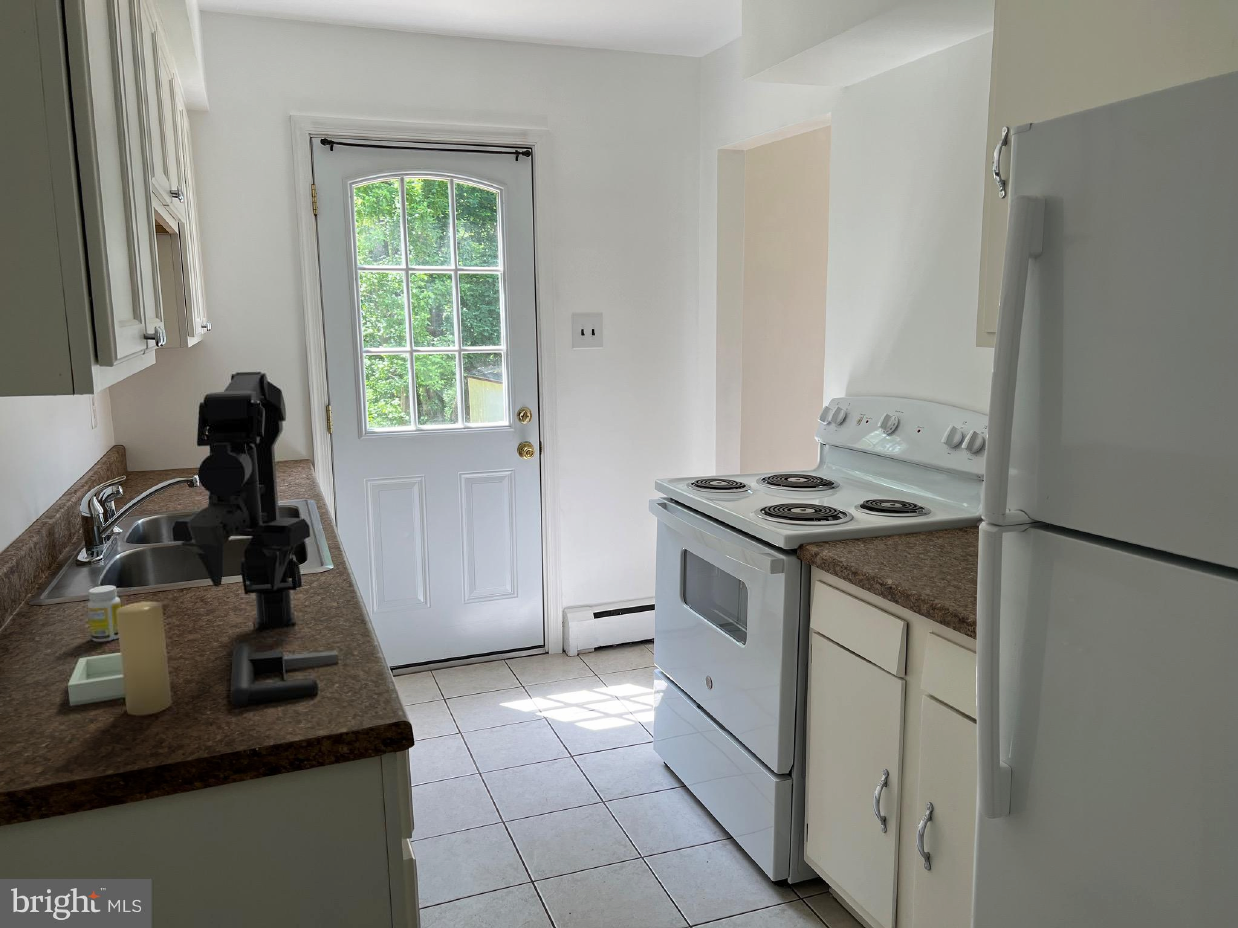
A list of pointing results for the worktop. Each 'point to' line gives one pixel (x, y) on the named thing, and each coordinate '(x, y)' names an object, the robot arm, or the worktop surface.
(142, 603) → the tan rounded cylinder
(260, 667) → the door handle
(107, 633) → the supplement bottle
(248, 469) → the robot arm
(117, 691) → the tray
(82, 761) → the worktop surface
